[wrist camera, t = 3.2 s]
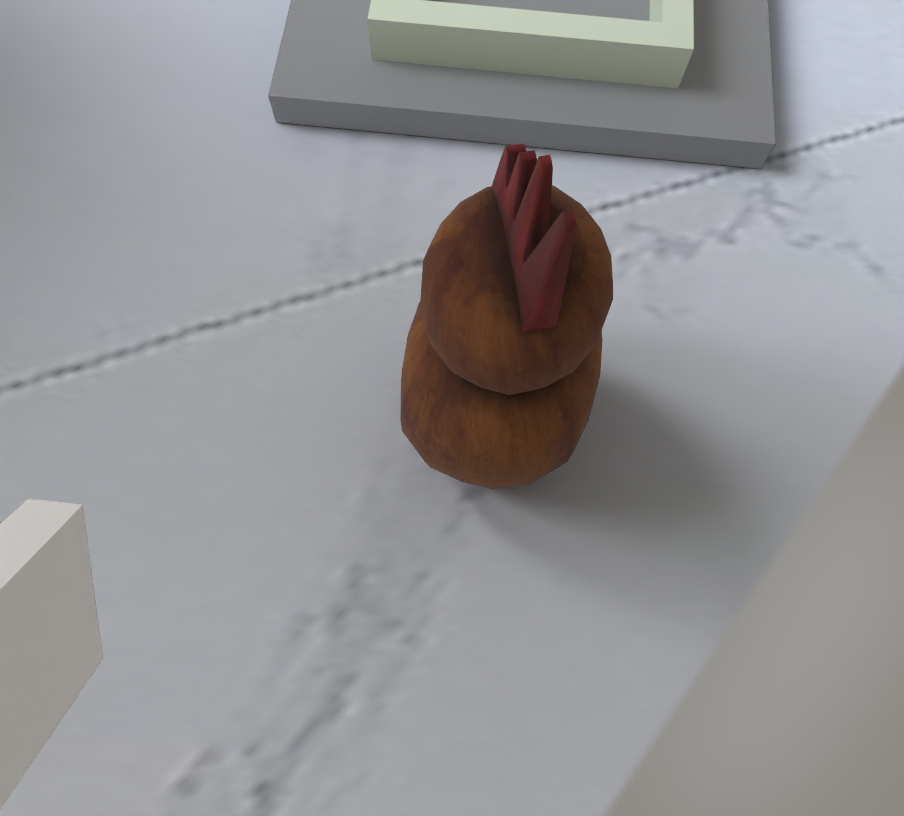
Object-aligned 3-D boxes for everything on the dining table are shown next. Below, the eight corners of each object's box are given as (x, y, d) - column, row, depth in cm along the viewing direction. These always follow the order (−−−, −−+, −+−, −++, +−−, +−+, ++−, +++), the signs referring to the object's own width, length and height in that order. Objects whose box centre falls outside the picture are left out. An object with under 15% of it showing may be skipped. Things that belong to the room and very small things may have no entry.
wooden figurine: (555, 527, 26) (694, 331, 12) (390, 492, 26) (333, 261, 12) (585, 349, 28) (729, 9, 14) (432, 320, 29) (426, -42, 14)
